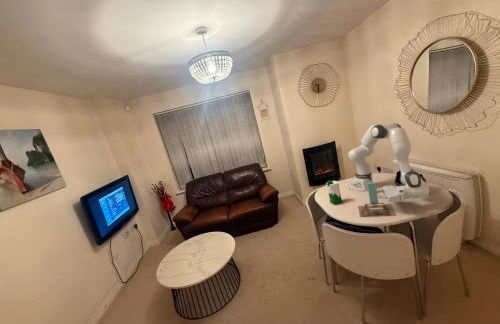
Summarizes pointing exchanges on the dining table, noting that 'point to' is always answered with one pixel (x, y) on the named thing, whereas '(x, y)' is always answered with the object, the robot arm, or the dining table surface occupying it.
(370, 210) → the grey offcut
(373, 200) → the teal slat
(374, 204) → the oak offcut
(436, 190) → the dining table surface
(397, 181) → the coal bowl
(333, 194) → the milk carton
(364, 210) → the offcut rack
